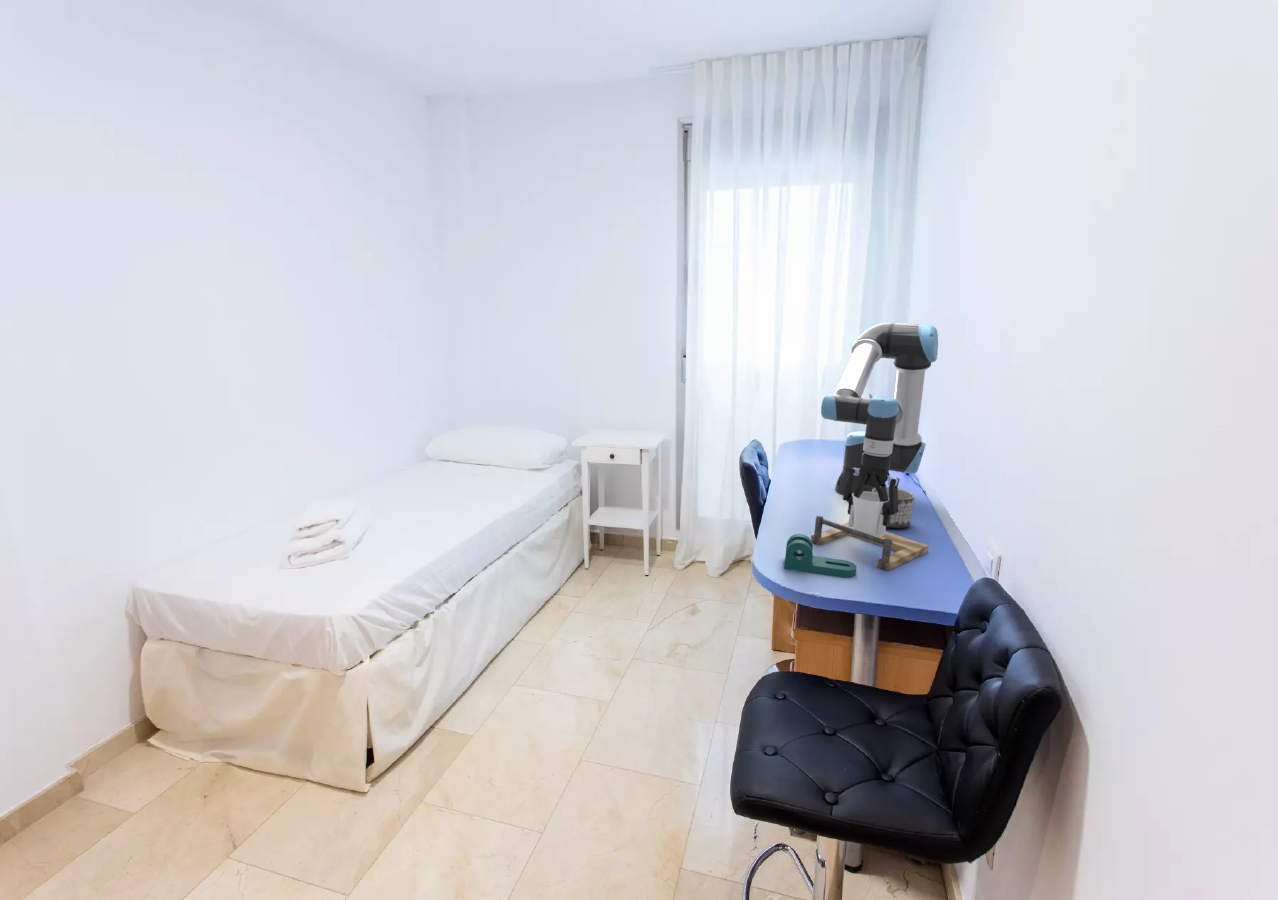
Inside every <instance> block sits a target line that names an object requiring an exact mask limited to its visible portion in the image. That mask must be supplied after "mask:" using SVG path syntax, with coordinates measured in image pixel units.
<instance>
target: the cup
mask: <svg viewBox="0 0 1278 900" xmlns="http://www.w3.org/2000/svg"><path fill="white" fill-rule="evenodd" d="M852 496H853V511H854V530H857V531H860V532H863V533H866V534H869V535H872V536H875V535H877V533H878V527H879V520H880V514H882V513H883V510H882V506H883V503H885V502H888V501H885V502H880V499H879V495H878V493H874V492H866V491H863V493H862V494H861V496H860V497H859V498H857V497H855V496H854V493H852ZM888 499H889V498H888Z"/></svg>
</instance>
